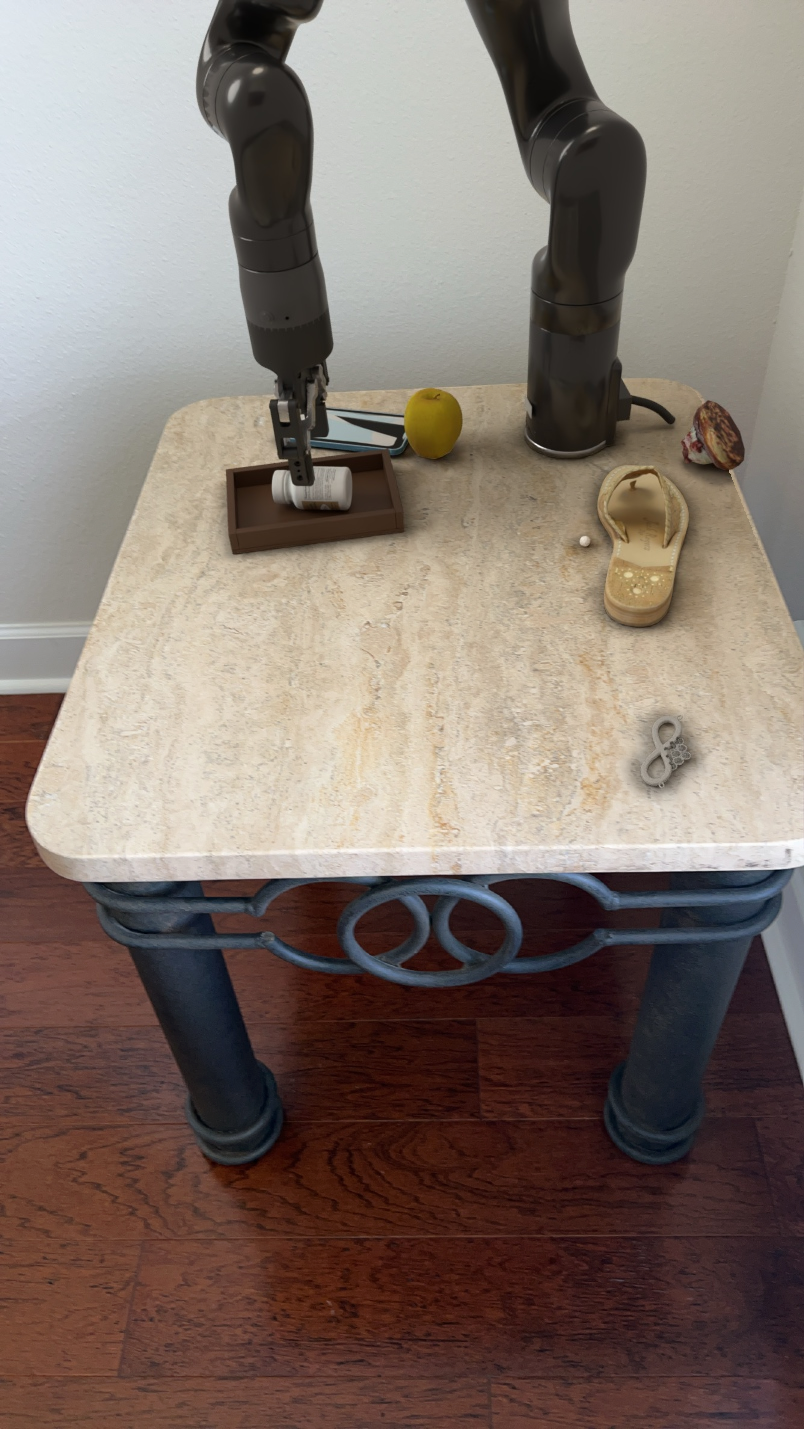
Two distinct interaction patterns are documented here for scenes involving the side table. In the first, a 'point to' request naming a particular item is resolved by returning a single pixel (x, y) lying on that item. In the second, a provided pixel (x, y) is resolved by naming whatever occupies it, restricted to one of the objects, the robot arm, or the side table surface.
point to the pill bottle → (315, 489)
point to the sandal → (641, 542)
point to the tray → (286, 525)
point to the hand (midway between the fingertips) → (311, 459)
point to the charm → (666, 751)
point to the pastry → (713, 438)
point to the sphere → (585, 541)
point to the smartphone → (362, 431)
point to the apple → (432, 422)
